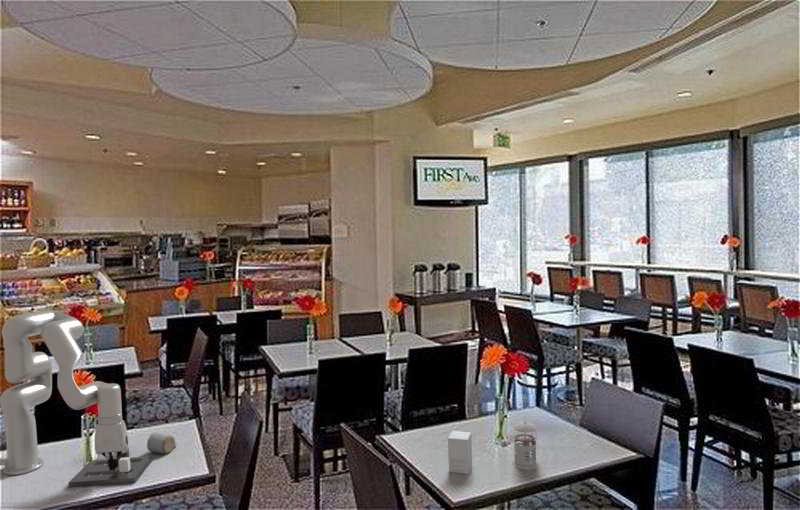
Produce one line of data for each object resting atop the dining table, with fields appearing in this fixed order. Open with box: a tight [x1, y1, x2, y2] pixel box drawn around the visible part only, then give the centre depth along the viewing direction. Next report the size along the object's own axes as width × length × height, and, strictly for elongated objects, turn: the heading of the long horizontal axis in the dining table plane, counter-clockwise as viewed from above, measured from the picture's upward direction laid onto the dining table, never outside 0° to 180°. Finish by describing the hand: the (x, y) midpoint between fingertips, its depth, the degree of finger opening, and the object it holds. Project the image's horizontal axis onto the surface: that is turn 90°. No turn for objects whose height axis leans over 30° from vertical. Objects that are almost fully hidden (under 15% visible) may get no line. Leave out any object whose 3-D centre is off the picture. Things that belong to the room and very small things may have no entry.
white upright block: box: [119, 456, 131, 472], centre depth 202 cm, size 3×2×5 cm
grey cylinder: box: [146, 431, 178, 455], centre depth 225 cm, size 11×8×8 cm
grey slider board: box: [68, 455, 153, 489], centre depth 205 cm, size 22×18×2 cm
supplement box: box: [447, 430, 473, 475], centre depth 202 cm, size 7×7×13 cm
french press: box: [511, 396, 540, 471], centre depth 206 cm, size 10×12×25 cm
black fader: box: [118, 447, 130, 462], centre depth 211 cm, size 3×2×5 cm
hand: (113, 468), depth 202 cm, fingers closed
